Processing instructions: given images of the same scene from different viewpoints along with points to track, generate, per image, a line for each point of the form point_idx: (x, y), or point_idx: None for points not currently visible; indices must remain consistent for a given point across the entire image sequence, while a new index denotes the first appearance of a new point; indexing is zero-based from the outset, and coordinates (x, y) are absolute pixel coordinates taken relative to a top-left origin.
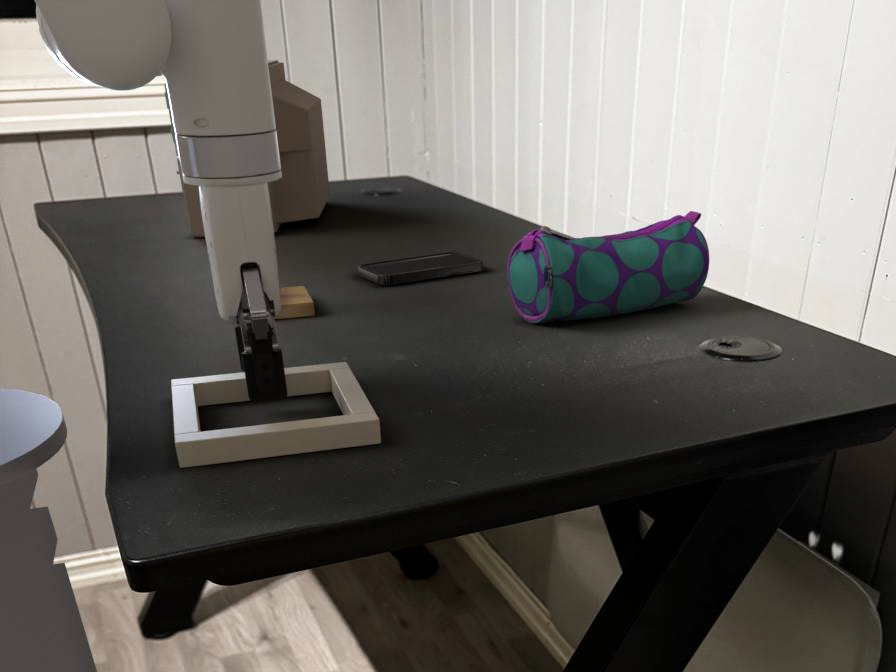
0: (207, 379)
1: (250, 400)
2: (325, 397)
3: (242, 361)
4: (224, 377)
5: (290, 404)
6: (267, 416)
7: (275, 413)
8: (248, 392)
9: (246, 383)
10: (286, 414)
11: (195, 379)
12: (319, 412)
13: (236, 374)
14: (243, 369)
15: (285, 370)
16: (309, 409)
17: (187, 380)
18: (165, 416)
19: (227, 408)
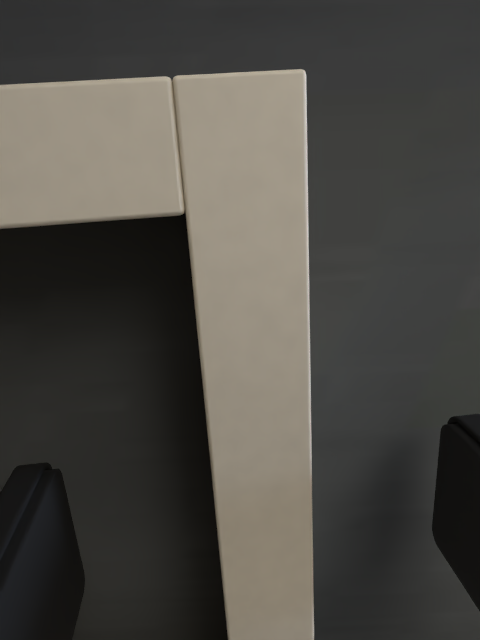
0: (242, 292)
1: (22, 465)
2: (184, 634)
3: (467, 448)
4: (253, 376)
5: (136, 544)
6: None
7: None
8: (7, 487)
9: (6, 512)
10: None
11: (258, 225)
12: None
13: (283, 429)
14: (446, 426)
15: (274, 612)
16: None
17: (251, 178)
18: (78, 41)
19: (139, 332)
